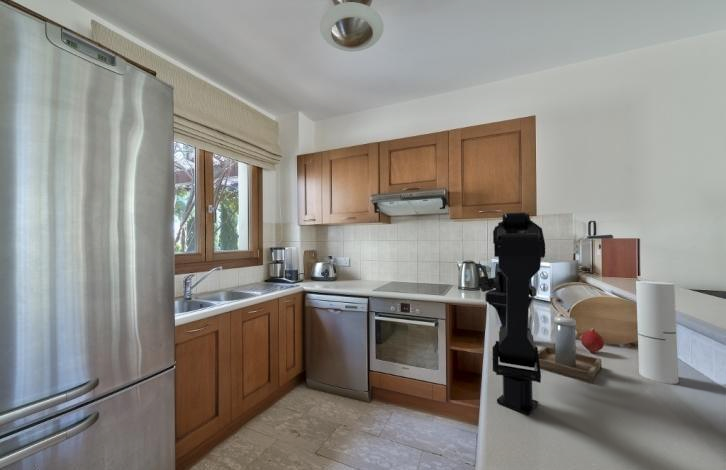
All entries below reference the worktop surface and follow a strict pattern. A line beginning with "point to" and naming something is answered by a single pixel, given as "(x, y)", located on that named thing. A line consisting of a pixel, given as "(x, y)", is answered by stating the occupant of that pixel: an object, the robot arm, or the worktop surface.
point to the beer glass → (531, 316)
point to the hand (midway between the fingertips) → (512, 325)
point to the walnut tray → (583, 371)
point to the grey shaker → (565, 341)
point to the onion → (592, 341)
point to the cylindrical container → (657, 331)
